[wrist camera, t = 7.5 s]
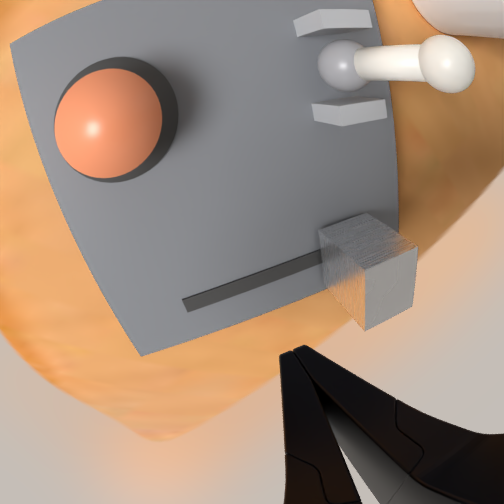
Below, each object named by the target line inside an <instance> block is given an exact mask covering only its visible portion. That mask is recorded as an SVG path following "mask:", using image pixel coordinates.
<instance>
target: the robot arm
mask: <svg viewBox="0 0 504 504" xmlns="http://www.w3.org/2000/svg"><path fill="white" fill-rule="evenodd" d="M279 363H280V378H281V393H282V409H283V410H282V411H283V428H284V444H285V445H284V446H285V454H286V455H285V468H286V470H285V471H286V474H285V475H286V483H285V497H284V504H362V502H361V499H360V496H359V494H358V491H357V489H356V486H355V484H354V482H353V479H352V477H351V474H350V472H349V469H348V467H347V464H346V462H345V459H344V457H343V455H342V452H341V450H340V447H341V448H342V450H343V451H344V453H345V455H346V456H347V457H348V459H349V460H350V462H351V463H352V465H353V466H354V467H355V469H356V470H357V472H358V473H359V475H360V476H361V477H362V479H363V480H364V482H365V483H366V485H367V486H368V488H369V489H370V490H371V492H372V493H373V495H374V496H375V497H376V499H377V500H378V502H379V503H380V504H504V434H481V433H476V432H473V431H470V430H467V429H464V428H461V427H458V426H456V425H453V424H450V423H447V422H445V421H442V420H439V419H437V418H434V417H432V416H429V415H427V414H425V413H423V412H420V411H418V410H417V409H415V408H413V407H411V406H409V405H407V404H405V403H403V402H402V401H400V400H396V399H395V398H394V397H393V396H391V395H389V394H387V393H386V392H384V391H382V390H380V389H378V388H377V387H375V386H373V385H372V384H370V383H368V382H366V381H365V380H363V379H361V378H360V377H358V376H356V375H355V374H353V373H351V372H350V371H348V370H346V369H345V368H343V367H341V366H340V365H338V364H336V363H335V362H333V361H331V360H330V359H328V358H326V357H325V356H323V355H321V354H320V353H318V352H316V351H315V350H313V349H312V348H310V347H309V346H307V345H302V346H300V347H297V348H295V349H293V351H288V352H285V353H283V354H281V355H280V356H279ZM338 444H339V445H338ZM339 446H340V447H339Z"/></svg>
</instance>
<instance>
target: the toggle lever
mask: <svg viewBox="0 0 504 504" xmlns="http://www.w3.org/2000/svg"><path fill="white" fill-rule="evenodd" d="M317 65H318V71H319V73H320V76H321V77H322V79H323V80H324V81H325V82H326V83H327V84H328V85H329V86H330V87H332V88H334V89H336V90H338V91H342V92H354V91H357V90H360V89H362V88H363V87H365V86H366V85H367V84H368V83H369V82H370V81H420V82H428V83H429V84H430V85H431V86H432V87H434V88H435V89H437V90H439V91H442V92H445V93H458V92H461V91H463V90H465V89H466V88H468V87H469V86H470V84H471V83H472V81H473V79H474V76H475V63H474V59H473V57H472V55H471V53H470V51H469V50H468V49H467V47H466V46H465V45H464V44H463V43H461V42H460V41H459V40H457V39H455V38H453V37H451V36H447V35H435V36H432V37H429V38H428V39H426V40H425V41H424V42H423V43H422V44H413V45H389V46H374V47H363V46H362V45H361V44H359V43H357V42H355V41H352V40H347V39H339V40H335V41H332V42H330V43H328V44H327V45H326V46H324V47H323V49H322V50H321V52H320V53H319V56H318V61H317Z"/></svg>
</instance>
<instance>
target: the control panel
mask: <svg viewBox="0 0 504 504" xmlns="http://www.w3.org/2000/svg"><path fill="white" fill-rule="evenodd" d="M339 39H347V40H352V41H355V42H357V43H359V44H361V45H362V46H363V47H374V46H383V45H382V40H381V35H380V31H379V26H378V21H377V17H376V13H375V9H374V5H373V1H372V0H102V1H99V2H96V3H94V4H91V5H89V6H86V7H84V8H81V9H79V10H76V11H74V12H72V13H69V14H67V15H65V16H63V17H60V18H58V19H56V20H54V21H52V22H50V23H48V24H46V25H44V26H42V27H40V28H38V29H36V30H34V31H32V32H30V33H28V34H27V35H25V36H23V37H21V38H19V39H18V40H16V41H14V42H12V43H11V44H10V48H11V53H12V58H13V63H14V68H15V72H16V76H17V81H18V85H19V89H20V93H21V96H22V100H23V104H24V107H25V111H26V114H27V118H28V121H29V124H30V128H31V131H32V134H33V137H34V140H35V143H36V146H37V149H38V152H39V155H40V157H41V160H42V163H43V166H44V168H45V171H46V174H47V176H48V179H49V181H50V184H51V187H52V189H53V191H54V194H55V196H56V199H57V201H58V204H59V206H60V208H61V211H62V213H63V215H64V217H65V220H66V222H67V224H68V226H69V228H70V231H71V233H72V235H73V237H74V239H75V241H76V243H77V245H78V247H79V249H80V251H81V253H82V255H83V257H84V259H85V261H86V263H87V265H88V267H89V269H90V271H91V273H92V275H93V277H94V279H95V281H96V282H97V284H98V286H99V288H100V290H101V291H102V293H103V295H104V297H105V299H106V300H107V302H108V304H109V306H110V307H111V309H112V311H113V312H114V314H115V316H116V318H117V319H118V321H119V323H120V324H121V326H122V327H123V329H124V331H125V332H126V334H127V336H128V337H129V339H130V340H131V342H132V343H133V345H134V347H135V348H136V350H137V351H138V353H139V354H140V356H144V355H147V354H151V353H154V352H157V351H160V350H163V349H166V348H169V347H172V346H175V345H178V344H181V343H184V342H187V341H190V340H193V339H196V338H199V337H202V336H204V335H207V334H210V333H213V332H216V331H219V330H221V329H224V328H227V327H230V326H232V325H235V324H238V323H241V322H243V321H246V320H249V319H251V318H254V317H257V316H259V315H262V314H265V313H267V312H270V311H272V310H275V309H278V308H280V307H283V306H285V305H288V304H290V303H293V302H295V301H298V300H300V299H303V298H305V297H308V296H310V295H313V294H315V293H318V292H320V291H322V290H325V289H327V288H326V286H325V283H324V274H323V265H322V256H321V248H320V240H319V233H318V230H319V229H322V228H325V227H327V226H330V225H333V224H336V223H339V222H341V221H344V220H347V219H350V218H353V217H356V216H358V215H361V214H364V213H368V214H369V215H371V216H372V217H374V218H376V219H377V220H379V221H380V222H382V223H384V224H385V225H387V226H388V227H390V228H391V229H393V230H394V231H396V232H397V233H399V204H398V172H397V155H396V141H395V130H394V119H393V110H392V102H391V94H390V87H389V81H370V82H369V83H368V84H367V85H366V86H365V87H363V88H362V89H360V90H357V91H354V92H342V91H338V90H336V89H334V88H332V87H330V86H329V85H328V84H327V83H326V82H325V81H324V80H323V79H322V77H321V76H320V73H319V71H318V65H317V61H318V56H319V53H320V52H321V50H322V49H323V47H324V46H326V45H327V44H328V43H330V42H332V41H335V40H339ZM113 68H114V69H123V70H127V71H130V72H133V73H135V74H137V75H138V76H140V77H141V78H143V79H144V80H145V81H146V82H147V83H148V84H149V85H150V86H151V87H152V88H153V90H154V91H155V93H156V95H157V97H158V99H159V102H160V106H161V110H162V127H161V132H160V135H159V139H158V141H157V143H156V145H155V147H154V149H153V151H152V152H151V153H150V155H149V156H148V157H147V158H146V159H145V160H144V161H143V163H141V164H140V165H139V166H138V167H136V168H135V169H133V170H132V171H130V172H128V173H126V174H123V175H120V176H117V177H112V178H96V177H91V176H88V175H85V174H83V173H81V172H79V171H77V170H76V169H74V168H73V167H72V166H71V165H70V164H69V163H68V162H67V161H66V160H65V159H64V157H63V156H62V154H61V152H60V150H59V148H58V146H57V142H56V139H55V117H56V113H57V110H58V107H59V104H60V102H61V100H62V99H63V97H64V95H65V94H66V93H67V91H68V90H69V89H70V88H71V87H72V86H73V85H74V84H75V83H76V82H77V81H78V80H80V79H81V78H83V77H84V76H86V75H88V74H90V73H92V72H95V71H98V70H103V69H113Z"/></svg>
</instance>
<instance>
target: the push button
mask: <svg viewBox="0 0 504 504" xmlns="http://www.w3.org/2000/svg"><path fill="white" fill-rule="evenodd" d="M161 127H162V110H161V106H160V102H159V99H158V97H157V95H156V93H155V91H154V90H153V88H152V87H151V86H150V85H149V84H148V83H147V82H146V81H145V80H144V79H143V78H141V77H140V76H138V75H137V74H135V73H133V72H130V71H127V70H123V69H114V68H113V69H103V70H98V71H95V72H92V73H90V74H88V75H86V76H84V77H83V78H81V79H80V80H78V81H77V82H76V83H75V84H74V85H73V86H72V87H71V88H70V89H69V90H68V91H67V93H66V94H65V95H64V97H63V99H62V100H61V102H60V104H59V107H58V110H57V113H56V117H55V139H56V142H57V146H58V148H59V150H60V152H61V154H62V156H63V157H64V159H65V160H66V161H67V162H68V163H69V164H70V165H71V166H72V167H73V168H74V169H76V170H77V171H79V172H81V173H83V174H85V175H88V176H91V177H96V178H112V177H117V176H120V175H123V174H126V173H128V172H130V171H132V170H133V169H135V168H136V167H138V166H139V165H140V164H141V163H143V161H144V160H145V159H146V158H147V157H148V156H149V155H150V153H151V152H152V151H153V149H154V147H155V145H156V143H157V141H158V139H159V135H160V132H161Z"/></svg>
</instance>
